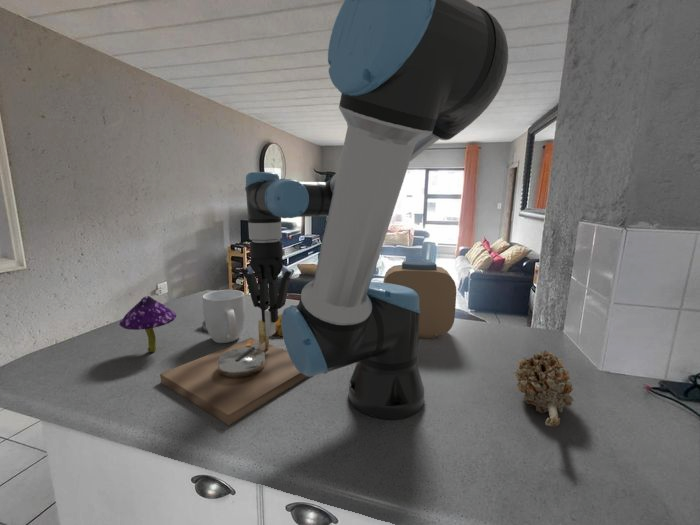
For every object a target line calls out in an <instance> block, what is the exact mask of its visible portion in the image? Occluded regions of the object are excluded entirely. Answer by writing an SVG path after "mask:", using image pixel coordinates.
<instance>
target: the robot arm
mask: <svg viewBox="0 0 700 525" xmlns="http://www.w3.org/2000/svg"><path fill="white" fill-rule="evenodd" d="M327 63H328V65H329V68H328V75H329V78H330V81H331V82H332V84H333V86H334V87H335V88H336V89H337V90H338V91H339V93H341V94H340V101H339V105H338V109H339V111H340V113H341V115H342V116H343V118H344V120H345V121H346V125H347V126H346V127H347V128H346V132H345V133H346V134H345V138H344V143H343V147H342V150H341V155H340V160H339V165H338V169H337V172H336V173H335V174H334V175H332V176H331V177H330V179H329V180H328V181H310V180H306V181H305V180H296V179H293V178H280V176H279V174H278V173H276V172H269V171H255V172H248V173H247V174H246V175H245V187H244V190H245V194H246V195H245V196H246V197H245V198H246V207H247V208H246V210H247V222H248V239H249V240H250V242H249V256H250V257H251V259H250V261H249V265H248V266H246V267H244V268H242V269H241V271H240V272H241V274H242V275H243V276H244V279H245V280H246V284H247V288H248V291H249V294H250V297H251V301H252V305H253V307H254V308H259V309H261V311H260V312H261V319H262V321H263V322H265V328H266V336H269V337H272V336H274V335H273V334H274V333H275V332H276V326H275V322H277V321H278V316H279V309H281V308H283V307H284V306H285V305H286V302H287V296H288V291H289V287H290V286H289V285H290V281H291V278H292V276H293V275H294V273H295V271H294V268H293V269H292V268H290V269H289V268H288V266H286V264H285V261H284V260H283V255H284V254H283V252H284V250H283V241H282V240H281V239H282V238H283V234H282V233H283V232H282V230H283V229H282V219H294V218H300V217H301V218H303V217H304V218H306V217H326V218H327V220H326V224H325V228H324V233H323V237H322V242H321V246H320V251H319V256H318V260H317V264H316V269H315V272H314V273H315V274H314V278H313V280H312V281H310V282H308V283H306V284H305V285H304V286H303V288H302V290H301V293H300V298H299V303H298V304H297V305H294V304H292V305H290V306H289V307H286V308H285V309H283V311H282V313H281V314H282V318H281V327H282V334H283V336H282V337H283V342H284V345H285V348H286V351H287V352H288V354H289V356H290V359H291V361H292V362H293V364H294V366H295V367H296V369H297V370H298V371H299V372H300V373H302V374H303V375H306V376H308V377H314V376H317V375H321V374H323V375H326V374H328V373H330V372H333V371H335V370H338V369H341V368H344V367H347V366H349V365H350V366H351V365H353V364H355V363H356V364H355V366H354V369H353V372H352V374H351V377H350V380H349V382H348V383H349V384H348V398H349V401H350V403H351V405H352V407H354V408H355V409H357V410H358V411H359V412H361V413H363V414H365V415H368V416H370V417H372V418H378V419H382V420H397V419H398V420H399V419H404V418H408V417H410V416H414V415H415V414H416V413H418V412H419V411H420V410H421V409H422V408H423V406H424V402H425V386H424V383H423V379H422V376H421V373H420V370H419V366H418V347H419V346H418V345H419V338H418V332H419V315H420V310H419V296H418V294H417V292H416V291H414V290H413V289H411V288H408V287H405V286H401V285H396V284H390V283H383V281H382V282H381V281H372V279H373V276H374V273H375V271H376V270H375V269H376V266H377V264H378V262H379V257H380V254H381V252H382V248H383V246H384V242H385V239H386V236H387V233H388V230H389V226H390V224H391V220H392V218H393V214H394V211H395V208H396V205H397V202H398V199H399V196H400V192H401V190H402V187H403V183H404V182H405V181H404V180H405V178H406V174H407V171H408V167H409V165H410V162H412V161H413V160H414V159H415V158H417V157H418V156H419V155H421V154H422V153H423V152H424V151H426V150H428V149H429V148H430V147H431V146H432V145H434V144H435V143H437V142H438V141H439V140H440V141H450V140H452V139H453V138H454V137H456V136H457V135H458V134H460V133H461V132H462V131H464V130H465V129H466V128H467V127H469V126H470V125H471V124H473V123H474V122H475V121H476V120H477V119H478V118H479V117H480V116H481V115H482V114H483V113H484V112H485V111H486V110H487V109H488V107H489V106H490V105H491V103H492V102H494V100H495V98H496V96H497V94H498V93H499V91H500V89H501V87H502V85H503V83H504V80H505V77H506V74H507V69H508V64H509V46H508V41H507V35H506V34H505V32H504V29H503V27H502V25H501V24H500V22H499V20H498V19H497V18H496V17H495V16H494V15H493V14H491V13H490V12H489V11H488V10H486V9H484V8H482V7H480V6H478V5H476V4H474V3H472V2H470V1H468V0H344V1H343V3H342V5H341V6H340V9H339V11H338V14H337V16H336V18H335V21H334V24H333V27H332V30H331V34H330V38H329V44H328V51H327ZM280 274H281V276H282V278H281V280H280V285H279V284H278V281H279V276H280ZM278 285H279V286H278ZM278 287H279V288H278ZM278 290H279V291H278Z"/></svg>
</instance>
